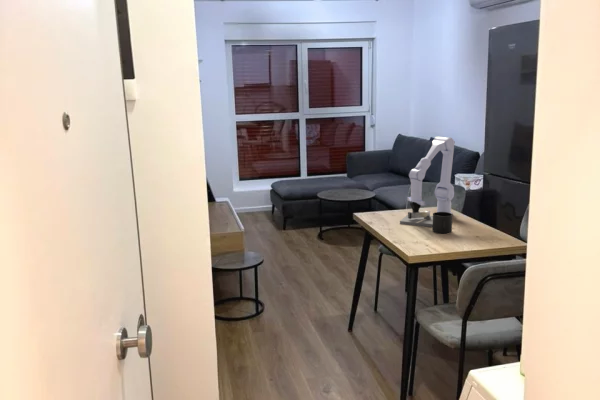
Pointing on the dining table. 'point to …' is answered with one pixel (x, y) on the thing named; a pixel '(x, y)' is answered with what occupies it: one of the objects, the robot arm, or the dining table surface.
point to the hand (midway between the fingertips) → (415, 216)
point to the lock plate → (417, 221)
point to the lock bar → (418, 214)
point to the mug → (442, 222)
